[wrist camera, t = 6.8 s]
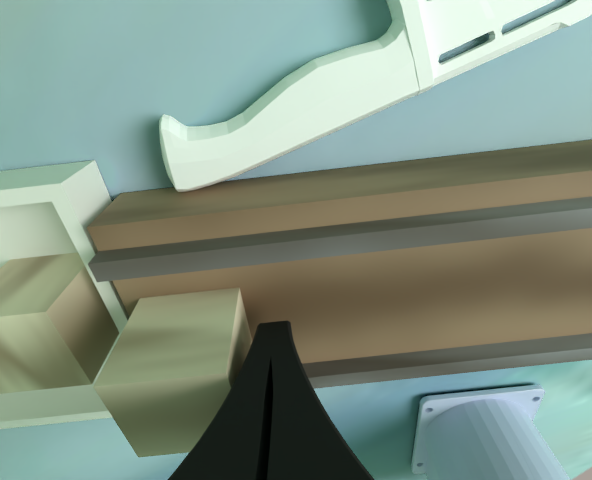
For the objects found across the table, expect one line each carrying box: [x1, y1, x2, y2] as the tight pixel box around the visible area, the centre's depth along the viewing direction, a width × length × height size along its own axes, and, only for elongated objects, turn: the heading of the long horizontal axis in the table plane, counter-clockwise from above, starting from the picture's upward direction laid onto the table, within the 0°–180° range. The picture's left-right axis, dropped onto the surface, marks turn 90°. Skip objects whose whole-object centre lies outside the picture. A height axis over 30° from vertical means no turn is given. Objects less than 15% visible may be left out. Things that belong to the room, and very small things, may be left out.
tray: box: [0, 160, 130, 429], centre depth 16 cm, size 13×13×2 cm
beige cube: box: [93, 288, 252, 457], centre depth 13 cm, size 4×4×4 cm
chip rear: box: [0, 252, 119, 394], centre depth 15 cm, size 4×4×4 cm
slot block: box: [87, 140, 592, 389], centre depth 15 cm, size 10×22×4 cm, turn 96°
